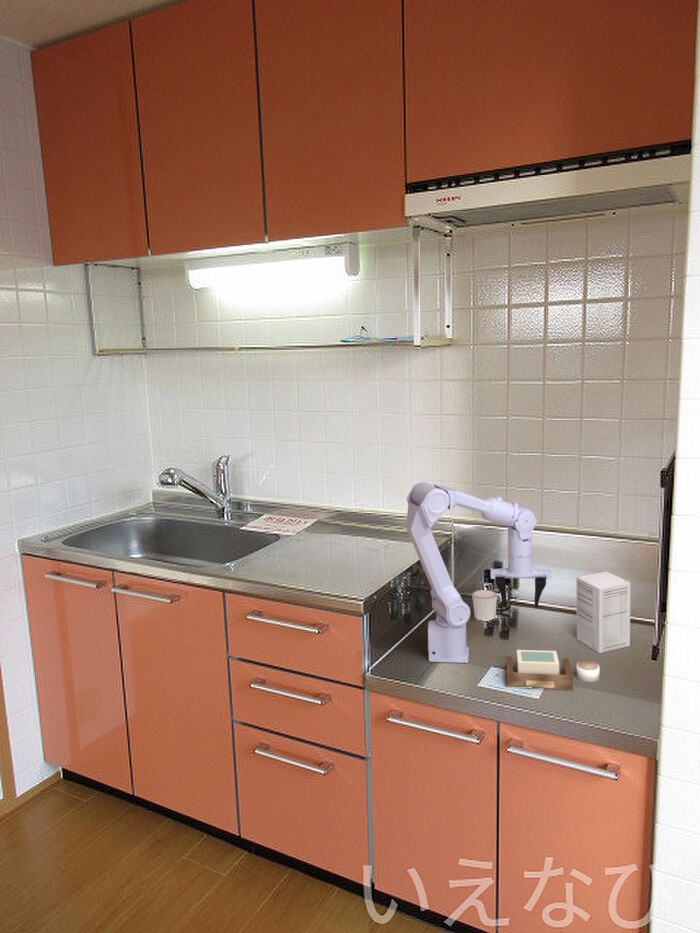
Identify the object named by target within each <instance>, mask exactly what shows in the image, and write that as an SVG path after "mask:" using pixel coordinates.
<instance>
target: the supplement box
mask: <svg viewBox="0 0 700 933" xmlns="http://www.w3.org/2000/svg"><path fill="white" fill-rule="evenodd" d="M576 640H578V641H579V642H580V643H582V644H584V645H586V647H587V648H588V647H589V648H590V649H591V650H594V651H595V652H597V653H598V654H601V653H602V654H603V653H606V652H611V651H615V650H618V649H619V650H620V649H623V648H628V647H630V646H631V582H630V581H629V580H626V579H624V578H621V576H617V575H616V574H613V573H611V572H609V571H602V572H597V573H592V574H588V575H587V574H586V575H583V576H578V577H576Z"/></svg>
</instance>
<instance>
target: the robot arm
mask: <svg viewBox="0 0 700 933" xmlns="http://www.w3.org/2000/svg"><path fill="white" fill-rule="evenodd" d="M406 500H407V501H406V502H407V513H406V514H407V515H406V524H405V527H406V530H407V533H408V535H409V538H410V540H411V542H412V545H413V547H414V549H415V553H416V554H417V557H418V560H419V562H420V564H421V566H422V569H423V572H424V573H425V575H426V576H425V577H426V578H427V580H428V583H429V585H430V588H431V590H430V592H429V593H430V595H431V606H432V607H431V608H432V610H433V611H434V612H435V613H436V619H435V620H429V621H428V625H427V640H428V642H427V650H428V662H430V663H431V662H432V663H456V664H457V663H458V664H461V663H462V664H467V663H469V652H470V651H469V649H470V648H469V646H467V623H468V621H469V619H470V616H471V609H470V607H469V605H468V604H467V603H466V602H464V600H463V599H462V597H461V595H460V593H459V592H458V590H457V589H456V587H455V586H454V585H453V584H454V583H453V582H452V579H451V577H450V574H449V572H448V570H447V567H446V564H445V562H444V560H443V557H442V555H441V553H440V552H441V551H440V549H439V548H438V546H437V543H436V540H435V538H434V535H433V532H432V530H431V529H432V528H433V526H434V524H435V523H436V522H437V521H438V520H439V519H440V518H441V517H442V515H444V514H445V513H446V511H447V510H449V511H451V510H452V509H454V508H456V507H457V506H458V507H461V508H464V509H468V510H470V511H475V512H478V513H480V514H481V517H482V518H483V520H485V521H489V522H491V523H495V524H499V525H502V526H505V527H507V547H508V548H507V557H508V560H507V561H508V563H507V564H508V567H503V568H491V569H490V579H491V580H494V582H495V586H496V587H497V588H498V591H499V593H500V596H501V599H502V602H503V603H502V604H503V607H507V595H506V589H507V588H506V579H534V608H539V603H540V598H541V595H542V594H543V591H544V589H545V588H546V585H547V580H548V581H549V580H551V578H552V575H551V569H544V568H535V567H533V547H532V546H533V540H532V539H533V531H534V528H535V527H536V525H537V522H538V521H537V520H538V519H536V517H535V514H534V513H533V511H531V510H530V509H528V508H525V507H522V506H521V505H519V504H518V503H517V502H514V501H513V502H512V503H511V502H508V501H505V500H503V498H502V497H501V496H498V495H495V497H493V496H489V497H487V498H485V499H482V498H480V497H477V496H474V495H472V494H469V493H467V492H466V493H465V492H464V491H461V490H458V489H455V488H452V487H449V486H445V485H439V484H436V483H432V484H430V483H429V482H426V481H420V482H417V483H416V484H414V485H413V487H411V489H410V491H409V493H408V495H407V497H406Z"/></svg>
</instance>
